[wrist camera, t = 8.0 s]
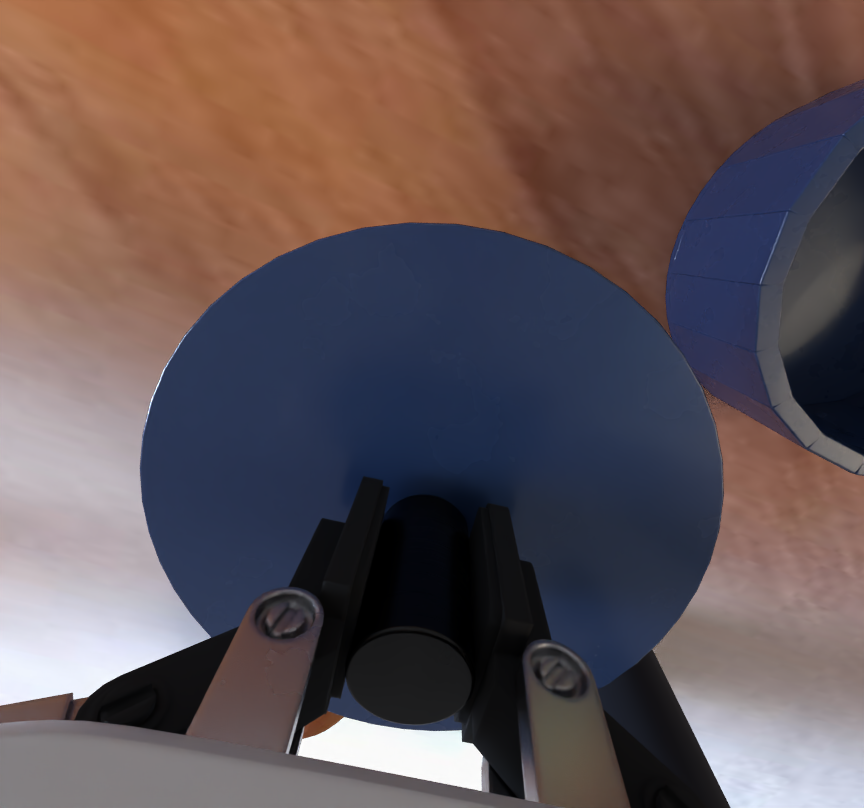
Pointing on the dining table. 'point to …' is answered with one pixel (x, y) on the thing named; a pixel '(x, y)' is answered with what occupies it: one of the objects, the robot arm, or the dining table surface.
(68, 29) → the dining table surface
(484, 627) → the robot arm
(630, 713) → the black bottle
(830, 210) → the pot
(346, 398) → the pot lid
